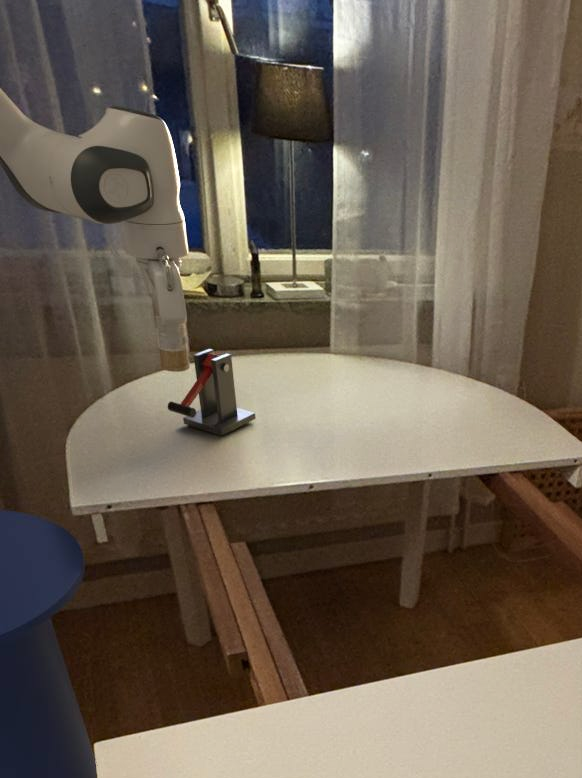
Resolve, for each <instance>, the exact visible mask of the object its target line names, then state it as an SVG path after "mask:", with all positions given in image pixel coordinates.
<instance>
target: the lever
mask: <svg viewBox="0 0 582 778" xmlns="http://www.w3.org/2000/svg"><path fill="white" fill-rule="evenodd" d="M219 356H220V355H218V354H215V353H214V354H212V353H209V355H208V356H207V358H206V359H205V360H204V362H203V363H202V365H203V366H204V368H205V370H204V371H203V373H202V374H201V375H200V377H199V378H198V380H197V379H196V381H195V382H194V384H192V385H193V386H192V387H191V388H190V389H189V391H188V392H187V394H186V395H185V396H184V398H183V399H182V401H181V403H178V402H174V401H169V402H168V404H167V409H168V411H170V412H172V413H176V414H179V415H182V416H184V417H186V416H188V417H192V418H193V417H195V415H196V412H197V410H196V408H194V407H192V406H191V405H192V404H193V402H194V400H195V399H196V398H197V396H199V392H200V391H201V389H202V388H203V386H204V385H205V383H206V382H207V381H208V379H209V378H210V376H211V375H212V374H213V372H212V364H211V359H214V358H217V357H219Z"/></svg>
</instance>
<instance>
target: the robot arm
mask: <svg viewBox="0 0 582 778" xmlns="http://www.w3.org/2000/svg"><path fill="white" fill-rule="evenodd" d="M0 166H1V167H2V169H3V171H4V172H5V174H6V176H7V179H8V180H9V181H10V184H11V185H12V186H13V188H14V189H15V191H16V192H17V193H18V194H19V196H20V197H22V199H24V200H25V202H26V203H28V204H30V205H31V206H33V207H34V208H37V209H39V210H41V211H46V212H50V213H58V214H64V215H67V216H70V217H73V218H77V219H81V220H84V221H87V222H92V223H95V224H101V225H113V224H118V223H120V229H121V233H122V239H123V245H124V251H125V253H126V254H127V255H128V256H131V257H134V258H135V262H136V265H137V266H138V267H139V269H140V273H141V276H142V280H143V283H144V286H145V288H146V291H147V293H148V295H149V297H150V299H151V301H152V300H153V303H154V306H155V308H156V310H157V312H158V315H159V317H160V319H161V321H162V323H163V324H164V326H165V333H166V339H167V341H168V343H170V344H176V343H179V341H180V340H179V333H178V330H179V324H186V323H187V321H188V317H187V316H188V314H187V307H186V301H185V300H186V299H185V293H184V290H183V289H184V288H183V283H182V278H181V273H180V270H179V268H181V267H182V265H183V264H182V258H185V257H187V256H188V255H189V253H190V250H189V244H188V236H187V235H188V234H187V228H186V221H185V215H184V211H183V210H182V207H181V204H180V188H181V181H180V175H179V169H178V162H177V156H176V152H175V147H174V143H173V139H172V135H171V132H170V130H169V127H168V126H167V124H166V122H165V121H164V120H163V119H162V118H161V117H160V116H158V115H156V114H154V113H152V112H148V111H145V110H140V109H134V108H131V107H126V106H121V105H111V106H108V107H107V108H106V109H105V113H104V115H103V117H102V118H101V119H100V120H99V121H98V122H97V123H96V124H95V125H94V126H93V127H91V128H90V129H89V130H87V131H85V132H84V133H81V134H79V135H78V136H75V135H70V134H68V133H67V134H66V133H62V132H58V131H55V130H53V129H51V128H48V127H45V126H43V125H41V124H39V123H37V122H35V121H33V120H32V119H30V118H29V117H27V116H26V115H25V114H24V113H23V112H22V111H21V110H20V108H19V107H18V106H17V105H16V103H14V101H12V100H11V98H10V97H9V96H8V95H7V93H6V92H4V90H3V89H2V88H1V87H0ZM149 280H150V284H151V290H152V294H151V293H150V291H149V283H148V281H149ZM168 289H169V291H168ZM171 289H172V291H171ZM151 295H152V296H151ZM153 303H152V304H153Z"/></svg>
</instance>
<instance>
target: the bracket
mask: <svg viewBox="0 0 582 778" xmlns="http://www.w3.org/2000/svg"><path fill="white" fill-rule="evenodd" d="M209 353H212V354H215V351H214V349H212V348H208V349H204V350H203V351H200V352H197V353H194V354H193V363H194V370H195V377H196V381H197V380H198V378H199V377H200V375H201V374H202V373H203V371H204V370H205V368H204V366H203V365H202V363H203V362H204V360H205V359H206V358H207V356H208V355H209ZM211 364H212V372H213V374H212V375H211V376H210V378H209V379H208V381H207V382H206V383H205V385H204V386H203V388H202V389H201V391H200V392H199V393H198V399H199V408H200V410H196V415H195V417H193V418H192V417H188V416H184V417H182V421H183V424H184V425H186V426H190V427H193V428H197V429H200V430H203V431H206V432H209V433H212V434H215V435H219V436H225V435H226V434H229V433H230V432H232V431H234V430H236V429H238V428H240V427H242V426H244V425H247V424H248V423H250V422H252V421H254V420H256V419H257V418H256V413H255V412H253V411H249V410H246V409H243V408H241V407H238V405H237V398H236V387H235V378H234V369H233V359H232V354H231V353H225V354H224V353H223V354H222V355H219V357H217V358H214V359H211Z"/></svg>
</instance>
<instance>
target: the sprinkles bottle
mask: <svg viewBox="0 0 582 778" xmlns="http://www.w3.org/2000/svg"><path fill="white" fill-rule="evenodd" d="M148 283H149V291H150V293H151V294H152V290H151V284H150V280H149V281H148ZM168 291H169V289H168ZM171 291H172V289H171ZM151 296H152V295H151ZM151 302H152V310H153V317H154V325H155V334H156V342H157V347H158V352H159V359H160V360H159V361H160V363H159V366H160V368H161V369H162V370H164V371H166V372H172V373H180V372H185V371H187V370H189V369H190V363H189V355H188V341H187V333H186V326H185V324H186V323H184V324H179V330H178V333H179V340H180V341H179V343H176V344H170V343H168V341H167V339H166V333H165V326H164V324H163V323H162V321H161V319H160V317H159V315H158V312H157V310H156V308H155V306H154V303H153V300H152V299H151Z"/></svg>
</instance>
